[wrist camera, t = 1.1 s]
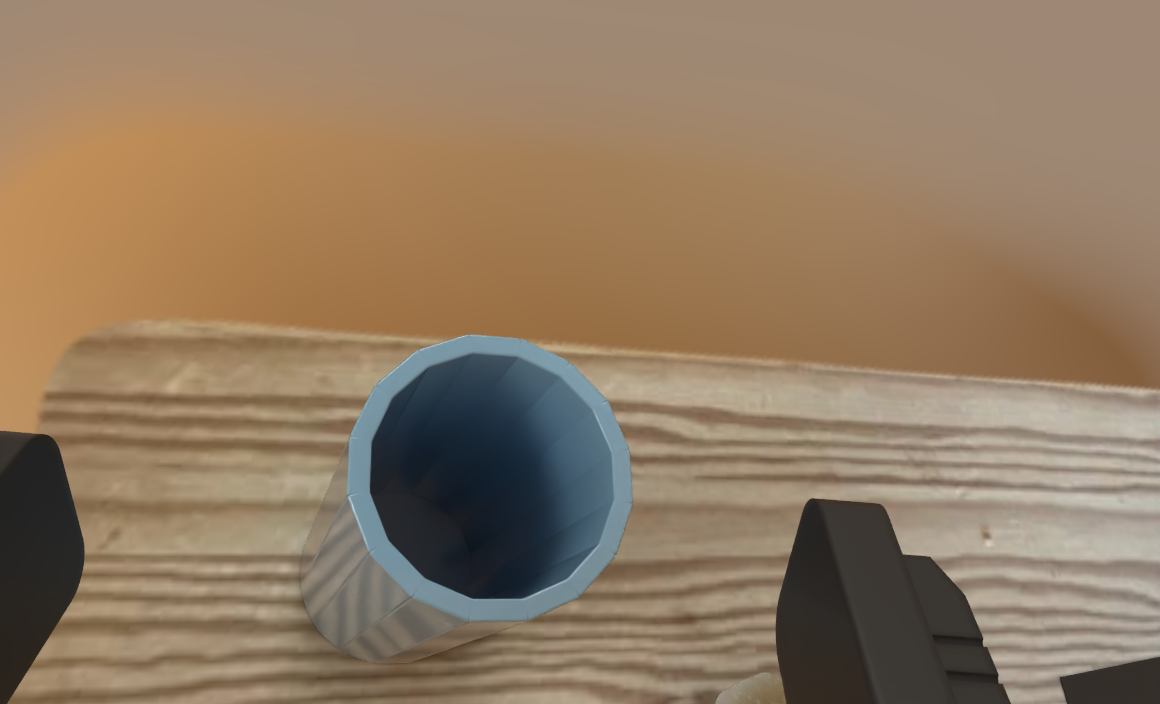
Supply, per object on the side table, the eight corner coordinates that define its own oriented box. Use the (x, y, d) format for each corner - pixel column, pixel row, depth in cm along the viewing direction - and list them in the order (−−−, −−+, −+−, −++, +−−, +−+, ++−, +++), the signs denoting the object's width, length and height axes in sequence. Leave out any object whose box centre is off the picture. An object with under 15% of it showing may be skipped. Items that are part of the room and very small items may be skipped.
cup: (337, 695, 27) (414, 673, 16) (274, 521, 29) (304, 383, 17) (504, 619, 30) (677, 552, 18) (440, 460, 31) (565, 303, 19)
